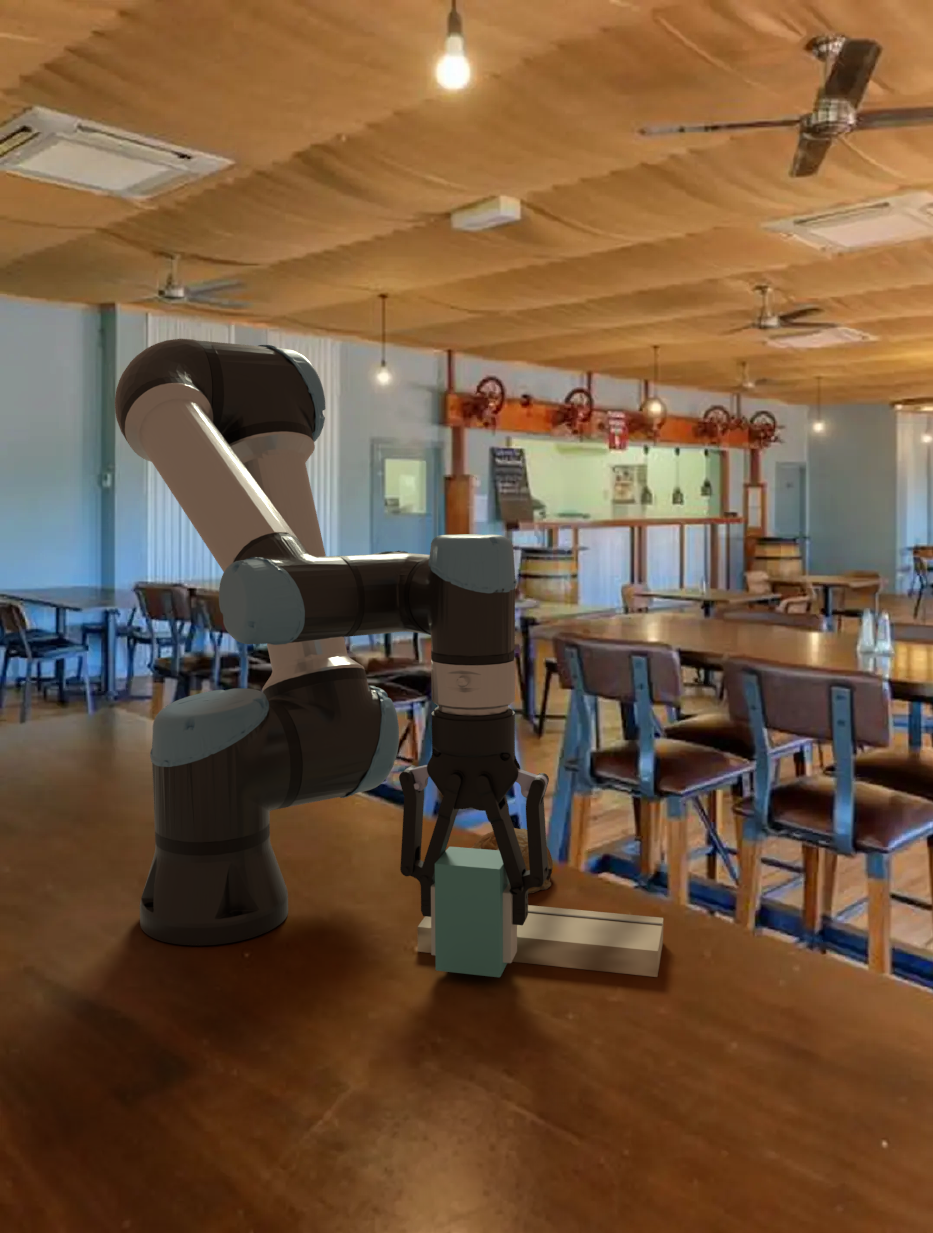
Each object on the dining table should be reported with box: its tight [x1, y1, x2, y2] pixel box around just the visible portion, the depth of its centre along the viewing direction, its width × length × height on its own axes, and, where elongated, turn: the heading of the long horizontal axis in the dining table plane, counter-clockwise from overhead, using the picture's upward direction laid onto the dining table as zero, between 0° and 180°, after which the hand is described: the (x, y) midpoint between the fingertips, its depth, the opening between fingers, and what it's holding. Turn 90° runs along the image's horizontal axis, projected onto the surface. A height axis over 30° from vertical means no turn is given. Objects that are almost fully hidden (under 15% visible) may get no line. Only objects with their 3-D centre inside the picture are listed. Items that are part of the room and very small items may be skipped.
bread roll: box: [470, 827, 554, 895], centre depth 124 cm, size 10×10×8 cm
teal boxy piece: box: [434, 846, 509, 978], centre depth 103 cm, size 6×13×10 cm, turn 166°
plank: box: [417, 904, 664, 978], centre depth 106 cm, size 23×8×3 cm, turn 76°
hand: (474, 952), depth 100 cm, fingers closed on teal boxy piece, 6 cm apart
